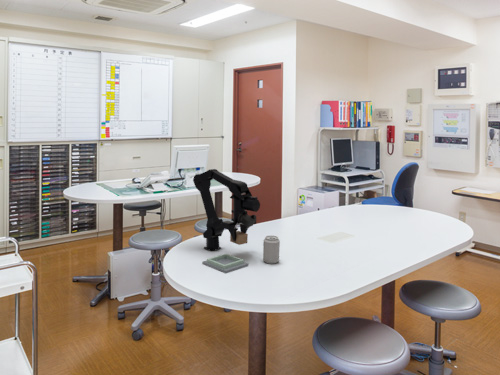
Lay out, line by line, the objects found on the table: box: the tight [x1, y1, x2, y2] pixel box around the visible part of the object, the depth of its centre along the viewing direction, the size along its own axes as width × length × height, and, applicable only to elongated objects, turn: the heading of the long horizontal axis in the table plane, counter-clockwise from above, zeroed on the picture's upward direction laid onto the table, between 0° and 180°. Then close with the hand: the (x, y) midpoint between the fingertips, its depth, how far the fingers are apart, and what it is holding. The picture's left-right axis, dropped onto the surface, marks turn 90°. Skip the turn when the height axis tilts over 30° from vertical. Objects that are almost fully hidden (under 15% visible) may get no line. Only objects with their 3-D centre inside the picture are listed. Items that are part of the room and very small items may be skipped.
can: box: [262, 235, 281, 265], centre depth 194 cm, size 8×8×12 cm
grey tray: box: [201, 253, 249, 274], centre depth 189 cm, size 16×14×2 cm
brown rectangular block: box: [229, 230, 248, 246], centre depth 200 cm, size 7×5×4 cm
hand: (238, 240), depth 200 cm, fingers closed on brown rectangular block, 5 cm apart
